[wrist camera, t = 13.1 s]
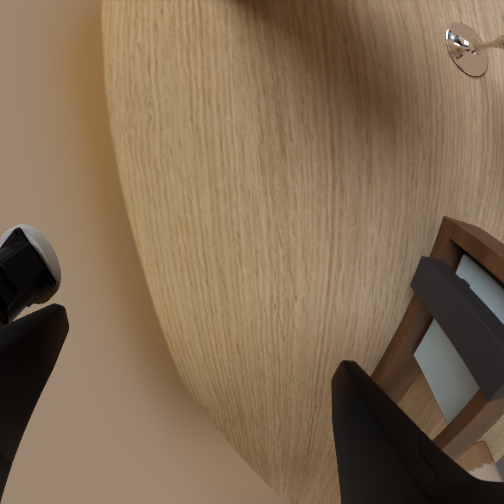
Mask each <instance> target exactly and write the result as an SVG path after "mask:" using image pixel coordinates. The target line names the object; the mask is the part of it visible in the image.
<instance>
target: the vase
mask: <svg viewBox="0 0 504 504" xmlns="http://www.w3.org/2000/svg"><path fill="white" fill-rule="evenodd" d="M455 462H456V463H457V464H459V465H460V466H461V467H462V468H463V469H465V470H466V471H467V472H468V473H470V474H471V475H472V476H474V477H476V478H478V479H481V480H485V481H495V482H502V479H501V477H500V474H499V472H498V469H497V467H496V464H495V462H494V459H493V457H492V455H491V452H490V450H489V448H488V446H487V444H486V442H485V441H482V442H478V443H475V444H473V445H472V446H471V447H470V448H469V449H468V450H467V451H466V452H464V453H463V454H462V455H461V456H460V457H459V458H457V459H456V460H455Z"/></svg>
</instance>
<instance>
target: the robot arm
mask: <svg viewBox="0 0 504 504" xmlns="http://www.w3.org/2000/svg"><path fill="white" fill-rule="evenodd" d="M55 285H56V280H55V278H54V277H53V275H52V274H51V273H50V271H49V270H48V268H47V267H46V266H45V264H44V263H43V261H42V260H41V258H40V257H39V255H38V254H37V252H36V251H35V249H34V248H33V246H32V244H31V243H30V241H29V240H28V238H27V237H26V235H25V233H24V232H23V230H22V229H21V228H20V227H17V228H16V229H14V231H13V232H12V233H11V235H10V236H9V237H8V238H7V240H6V241H5V242H4V244H3V245H2V246H1V248H0V502H1V499H2V495H3V491H4V488H5V485H6V482H7V478H8V475H9V472H10V469H11V466H12V462H13V460H14V457H15V454H16V452H17V449H18V447H19V444H20V441H21V439H22V436H23V433H24V431H25V429H26V426H27V424H28V422H29V419H30V417H31V414H32V413H33V410H34V408H35V406H36V404H37V401H38V399H39V397H40V395H41V393H42V391H43V388H44V387H45V385H46V382H47V380H48V378H49V376H50V374H51V372H52V370H53V368H54V366H55V363H56V361H57V358H58V356H59V353H60V351H61V348H62V346H63V343H64V341H65V339H66V336H67V334H68V331H69V323H68V319H67V314H66V309H65V308H64V307H63V306H61V305H59V304H55V303H54V304H51V305H49V306H46V307H44V308H42V309H40V310H37V311H35V312H33V313H31V314H28V315H26V316H24V317H22V318H19V319H17V320H15V321H13V320H14V319H15V318H16V317H17V316H18V315H19V314H20V313H21V312H22V310H23V309H24V308H25V307H26V306H27V307H30V306H31V305H32V304H33V303H34V302H36V301H37V300H38V299H39V298H41V297H42V296H43V295H44V294H45V293H47V292H48V291H49V290H51V289H52V288H53V287H54V286H55ZM12 321H13V322H12ZM331 388H332V424H333V433H334V440H335V448H336V457H337V465H338V474H339V484H340V494H341V504H504V482H495V481H485V480H481V479H478V478H476V477H474V476H472V475H471V474H470V473H468V472H467V471H466V470H465V469H463V468H462V467H461V466H460V465H459V464H457V463H456V462H455V461H454V460H453V459H451V458H450V457H449V456H448V455H447V454H446V453H444V452H443V451H442V450H441V449H440V448H439V447H438V446H437V445H436V444H435V443H434V442H433V441H432V440H431V439H430V438H429V437H428V436H427V435H426V434H425V433H424V432H423V431H420V428H419V427H418V426H417V425H416V424H415V423H414V422H413V421H412V420H411V419H410V418H409V417H408V416H407V415H406V414H405V413H404V412H403V411H402V410H401V409H400V408H399V407H398V406H397V404H396V403H395V402H394V401H393V400H392V399H391V398H390V397H389V396H388V395H387V394H386V393H385V392H384V391H383V390H382V389H381V388H380V387H379V386H378V385H377V384H376V383H375V382H374V381H373V380H372V379H371V378H370V377H369V375H368V374H367V373H366V372H365V371H364V370H363V369H362V368H361V367H360V366H359V365H358V364H357V363H356V362H355V361H349V360H343V361H341V363H340V364H339V366H338V368H337V370H336V372H335V374H334V375H333V377H332V382H331Z"/></svg>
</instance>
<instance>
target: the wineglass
mask: <svg viewBox="0 0 504 504" xmlns="http://www.w3.org/2000/svg"><path fill="white" fill-rule="evenodd" d="M503 25H504V10H503ZM445 38H446V45H447V48H448V51H449V53H450V55H451V57H452V59H453V60H454V62H455V63H456V65H457V66H458V67H459V68H460V69H461V70H462V71H464V72H465V73H467V74H469V75H471V76H480V75H482V74H483V73H484V72H485V71H486V69H487V65H488V56H487V51H486V49H487V48H502V49H504V35H502V36H500V37H498V38H497V39H496V40H493V41H490V42H485V43H483V41H482V40H481V38H480V37H479V35H478V34H477V33H476V32H475V31H474V30H473V29H472V28H470V27H469V26H467V25H465V24H463V23H457V22H456V23H452V24H451V25H449V27H448V28H447V30H446V37H445Z"/></svg>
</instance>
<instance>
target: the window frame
mask: <svg viewBox="0 0 504 504" xmlns="http://www.w3.org/2000/svg"><path fill="white" fill-rule="evenodd" d="M463 254H468V255H470V256H472V257H473V258H474V259H475V260H476V261H478V262H479V263H480V264H481V265H482V266H483V267H485V268H486V269H487V270H488V271H489V272H490V273H491V274H492V275H494V276H495V277H496V278H497V279H498V280H499V281H500V282H501V283H502V284H503V285H504V244H503V243H501V242H500V241H498V240H497V239H496V238H494V237H493V236H491V235H490V234H488V233H487V232H485V231H484V230H482V229H481V228H479V227H476V226H474V225H471V224H467V223H464V222H461V221H458V220H455V219H452V218H449V217H445V216H444V217H443V221H442V224H441V227H440V230H439V232H438V235H437V238H436V241H435V244H434V247H433V249H432V252H431V255H430V257H429V258H434V259H439V260H442V261H443V262H444V263H445V264H446V265H447V266H449V267H450V268H451V269H452V270H453V271H454V272H455V273H456V271H457V269H458V266H459V264H460V261H461V259H462V256H463ZM433 319H434V317H433V316H432V314H431V313H430V312H429V310H428V309H427V307H426V306H425V305H424V303H423V302H422V301H421V299H420V298H419V297H418V295H417V294H416V293H414V295H413V298H412V300H411V302H410V304H409V306H408V308H407V311H406V313H405V315H404V317H403V319H402V321H401V323H400V325H399V327H398V329H397V331H396V333H395V335H394V337H393V338H392V340H391V342H390V344H389V346H388V348H387V350H386V351H385V353H384V355H383V357H382V359H381V360H380V362H379V364H378V365H377V367H376V369H375V371H374V372H373V374H372V376H371V377H370V378H371V379H372V380H373V381H374V382H375V383H376V384H377V385H378V386H379V387H380V388H381V389H382V390H383V391H384V392H385V393H386V394H387V395H388V396H389V397H390V398H391V399H392V400H393V401H394V402H395V403H396V404H397V403H398V402H399V400H400V399H401V398H402V396H403V395H404V394H405V392H406V391H407V390H408V388H409V387H410V385H411V384H412V383H413V381H414V380H415V378H416V377H417V375H418V374H419V372H420V371H421V368H420V366H419V364H418V362H417V360H416V358H415V357H414V353H415V352H416V350H417V348H418V346H419V345H420V343H421V341H422V340H423V338H424V336H425V334H426V332H427V331H428V329H429V327H430V325H431V323H432V321H433ZM503 414H504V398H501V399H498V400H494V401H490V402H487V400H486V398H485V396H484V395H483V393H482V391H481V390H480V389H479V390H478V391H477V393H476V394H475V395H474V396H473V397H472V399H471V400H470V401H469V402H468V403H467V405H466V406H465V407H464V408H463V409H462V410H461V411H460V413H459V414H458V415H457V416H456V417H455V418H454V419H453V420H452V421H451V422H450V424H449V425H448V426H447V427H446V428H445V429H444V430H443V431H442V432H441V433H440V434H439V435H438V436H437V437H436V438H435V439H434V440H433V442H434V443H435V444H436V445H437V446H438V447H439V448H440V449H441V450H442V451H443V452H444V453H446V454H447V455H448V456H449V457H450V458H451V459H453V460H454V461H455V460H456V459H457V458H459V457H460V456H461V455H462V454H463V453H464V452H466V451H467V450H468V449H469V448H470V447H471V446H472V445H473V444H474V443H475V442H477V441H478V440H479V439H480V438H481V437H482V436H483V435H484V434H485V433H486V432H487V431H488V430H489V429H490V428H491V427H492V426H493V425H494V424H495V423H496V422H497V421H498V420H499V419H500V417H501V416H502V415H503Z"/></svg>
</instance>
